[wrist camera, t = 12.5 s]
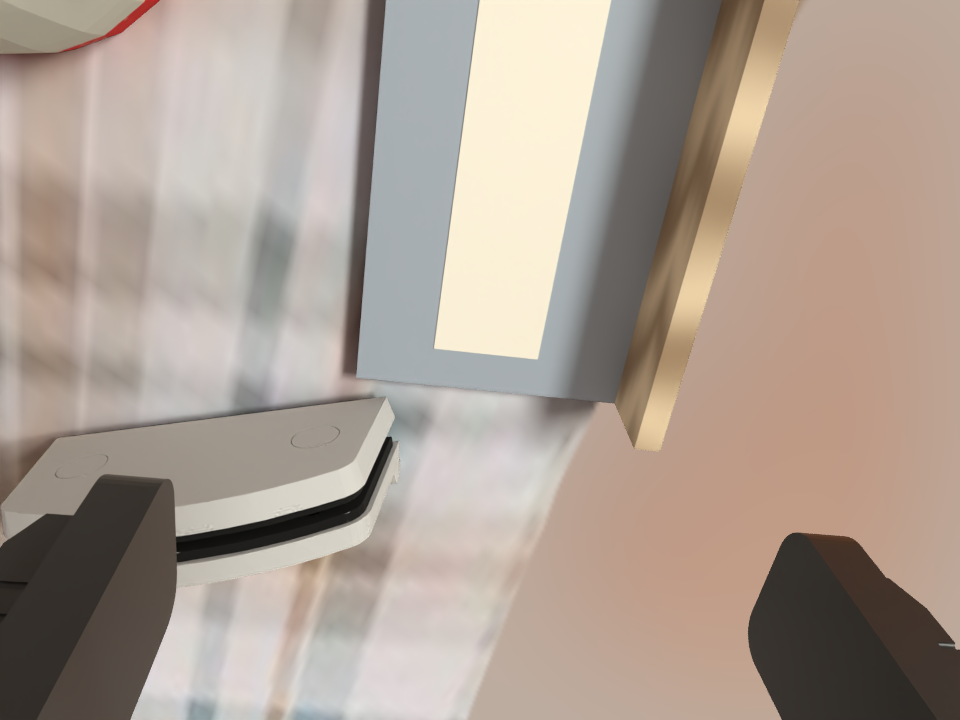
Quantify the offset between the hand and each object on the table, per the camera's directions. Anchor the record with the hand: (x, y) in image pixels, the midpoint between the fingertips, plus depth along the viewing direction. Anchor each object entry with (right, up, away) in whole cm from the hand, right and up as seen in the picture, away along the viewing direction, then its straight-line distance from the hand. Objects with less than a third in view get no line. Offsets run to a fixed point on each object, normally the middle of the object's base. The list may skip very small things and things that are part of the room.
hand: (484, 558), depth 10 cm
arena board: (+3, +12, +22) cm, 25 cm away
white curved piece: (-12, -2, +28) cm, 31 cm away
